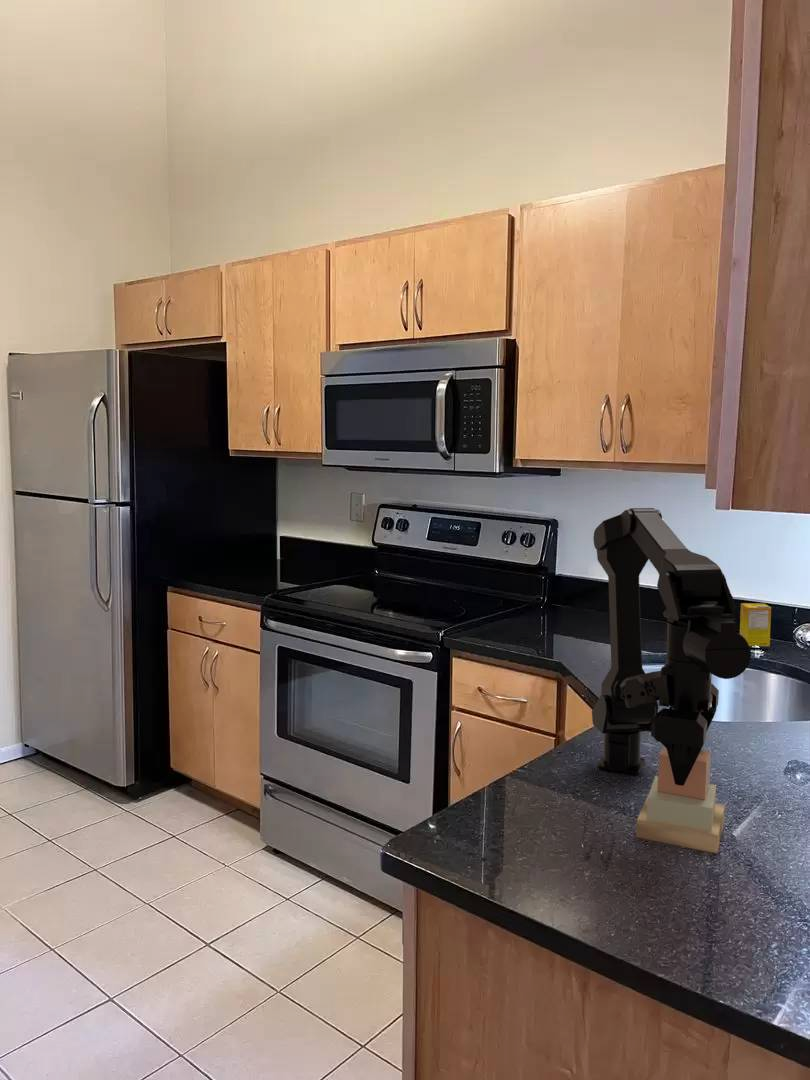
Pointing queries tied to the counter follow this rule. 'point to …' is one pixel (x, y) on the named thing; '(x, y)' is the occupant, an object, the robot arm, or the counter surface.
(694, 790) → the terracotta brick
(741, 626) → the supplement box
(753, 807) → the counter surface
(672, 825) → the tower base
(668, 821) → the tower top
